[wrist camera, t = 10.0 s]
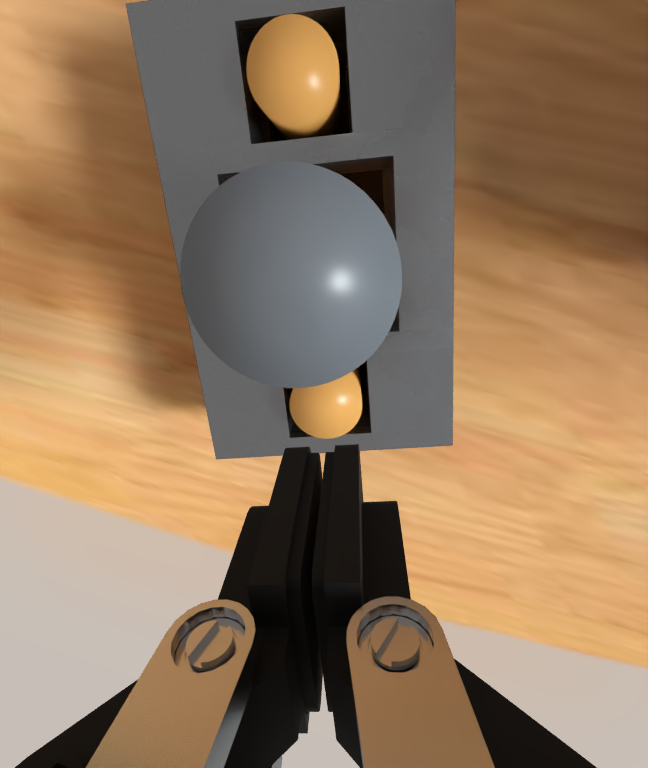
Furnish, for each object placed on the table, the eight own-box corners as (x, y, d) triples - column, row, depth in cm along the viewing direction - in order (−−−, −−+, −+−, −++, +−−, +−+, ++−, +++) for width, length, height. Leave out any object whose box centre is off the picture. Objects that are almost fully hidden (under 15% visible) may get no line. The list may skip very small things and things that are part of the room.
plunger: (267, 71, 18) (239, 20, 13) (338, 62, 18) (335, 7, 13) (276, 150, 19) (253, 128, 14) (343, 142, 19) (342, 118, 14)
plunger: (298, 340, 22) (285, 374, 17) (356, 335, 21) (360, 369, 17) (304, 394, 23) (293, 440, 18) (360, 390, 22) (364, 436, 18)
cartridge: (262, 196, 20) (158, 174, 9) (369, 185, 20) (397, 148, 9) (276, 303, 22) (202, 394, 11) (375, 294, 22) (405, 380, 10)
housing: (181, 57, 19) (125, 3, 14) (427, 25, 18) (455, -43, 13) (241, 411, 24) (216, 459, 19) (431, 399, 23) (452, 445, 19)
